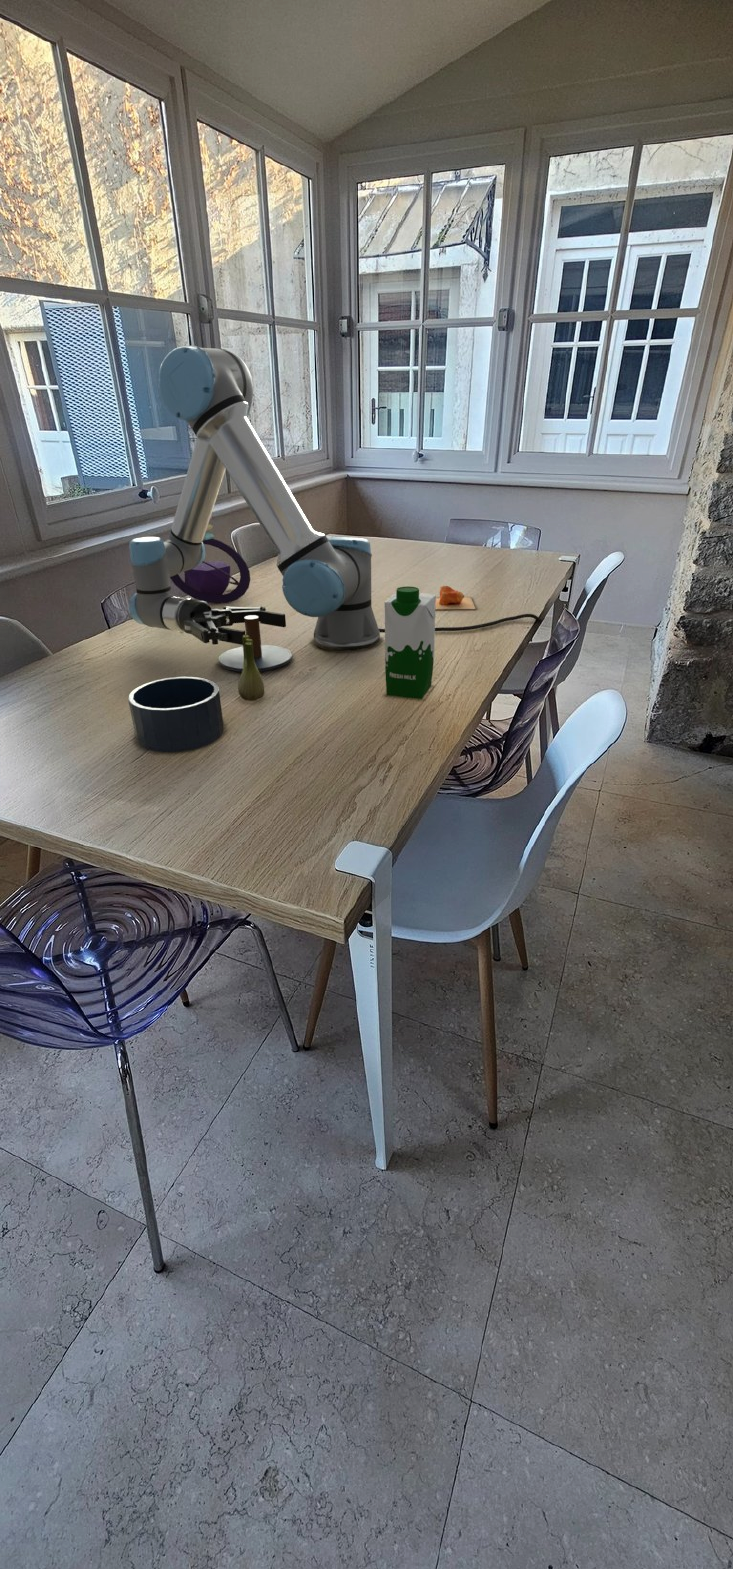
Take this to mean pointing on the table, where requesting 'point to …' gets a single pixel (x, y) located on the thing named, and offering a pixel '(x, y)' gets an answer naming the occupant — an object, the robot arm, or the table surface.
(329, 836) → the table surface
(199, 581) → the decorative bottle
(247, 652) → the fennel bulb
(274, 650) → the pot lid
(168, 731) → the pot
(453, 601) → the rock
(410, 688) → the milk carton
